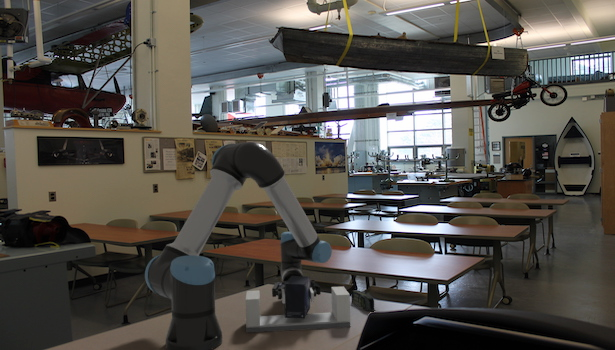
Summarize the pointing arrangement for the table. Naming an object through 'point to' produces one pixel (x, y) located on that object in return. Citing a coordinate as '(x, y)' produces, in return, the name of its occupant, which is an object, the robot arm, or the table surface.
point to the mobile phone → (362, 300)
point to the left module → (253, 308)
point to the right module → (340, 304)
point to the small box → (297, 297)
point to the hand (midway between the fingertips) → (298, 298)
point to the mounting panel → (297, 323)
